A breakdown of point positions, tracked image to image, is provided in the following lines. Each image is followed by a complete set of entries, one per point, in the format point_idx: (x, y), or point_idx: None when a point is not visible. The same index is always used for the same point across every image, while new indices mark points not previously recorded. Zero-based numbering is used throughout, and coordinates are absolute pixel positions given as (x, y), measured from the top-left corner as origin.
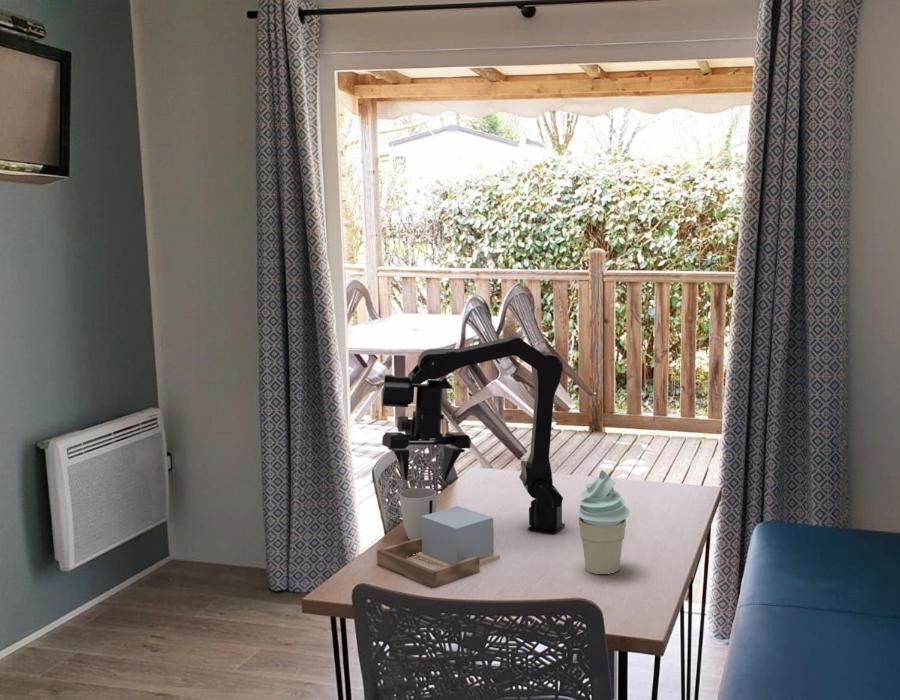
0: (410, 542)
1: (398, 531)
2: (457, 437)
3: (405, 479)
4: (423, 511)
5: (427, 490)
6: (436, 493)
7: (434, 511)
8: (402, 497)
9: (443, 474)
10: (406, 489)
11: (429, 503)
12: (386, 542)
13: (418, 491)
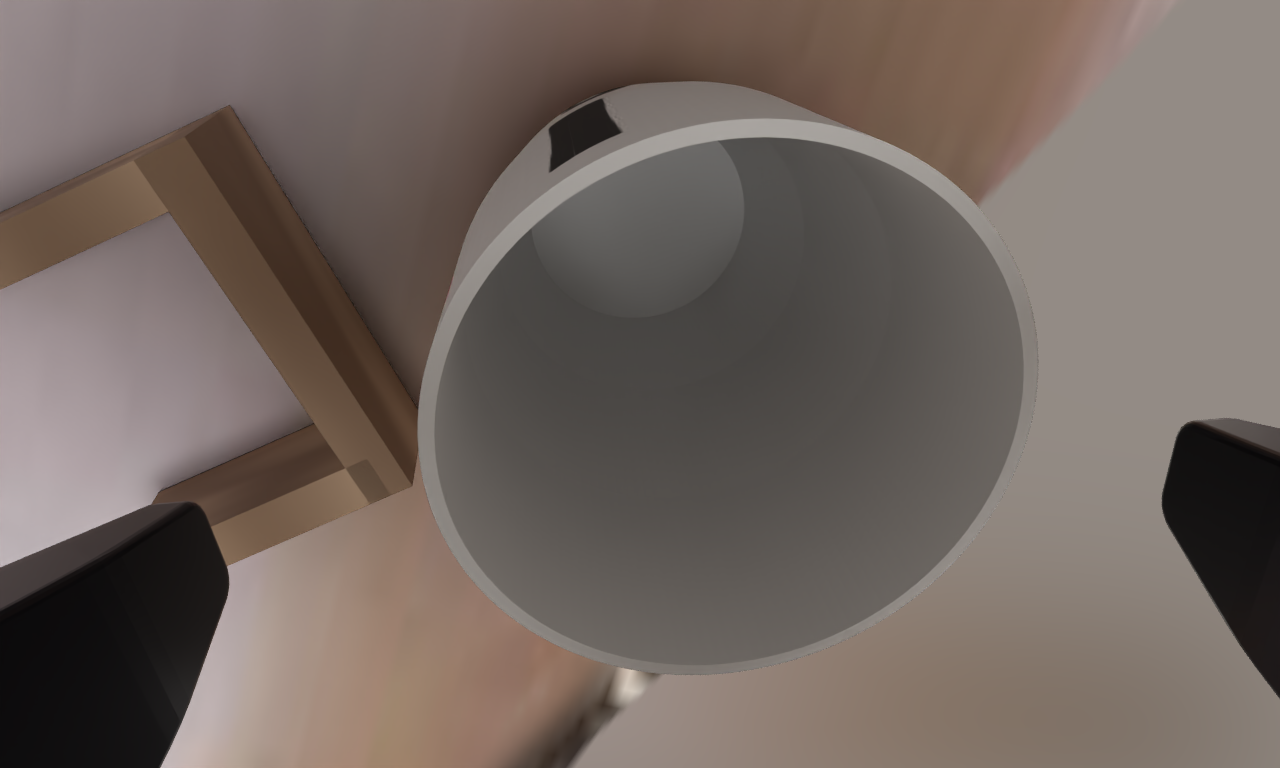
0: None
1: None
2: None
3: (1240, 420)
4: (705, 88)
5: (521, 586)
6: (434, 337)
7: (503, 173)
8: (1029, 330)
9: (173, 629)
10: (828, 645)
11: (613, 127)
12: (967, 176)
13: (640, 623)
